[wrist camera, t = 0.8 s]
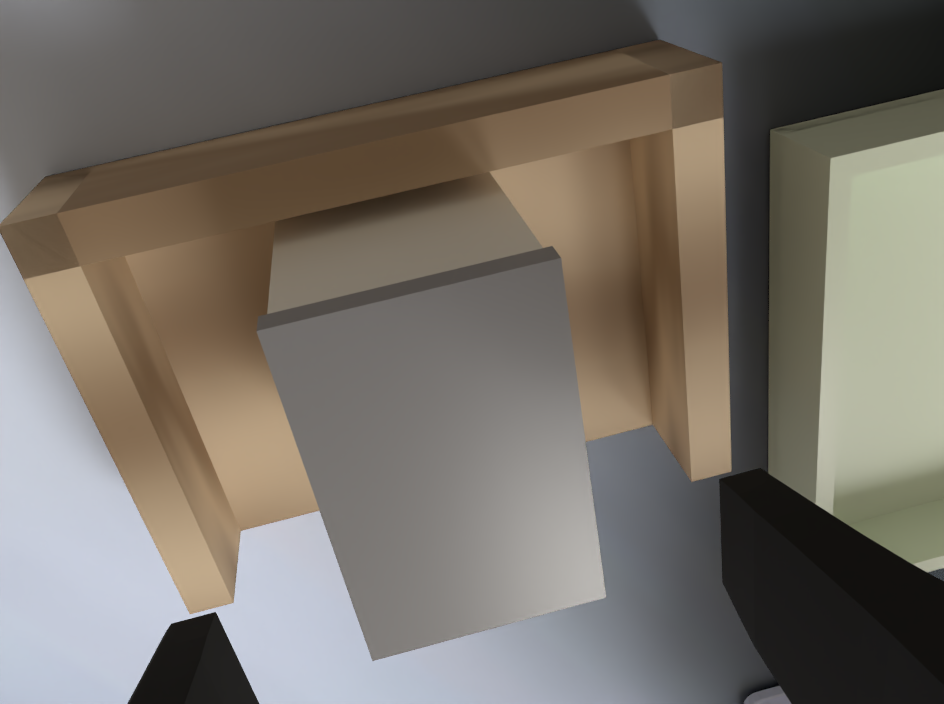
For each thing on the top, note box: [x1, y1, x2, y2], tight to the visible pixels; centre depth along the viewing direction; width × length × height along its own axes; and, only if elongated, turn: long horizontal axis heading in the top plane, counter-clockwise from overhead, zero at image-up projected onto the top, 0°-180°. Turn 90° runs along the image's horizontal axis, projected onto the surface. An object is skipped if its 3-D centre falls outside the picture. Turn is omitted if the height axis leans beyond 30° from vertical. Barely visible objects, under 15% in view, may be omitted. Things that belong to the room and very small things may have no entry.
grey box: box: [257, 172, 606, 661], centre depth 17 cm, size 8×5×6 cm, turn 10°
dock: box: [0, 40, 731, 614], centre depth 18 cm, size 10×13×3 cm
